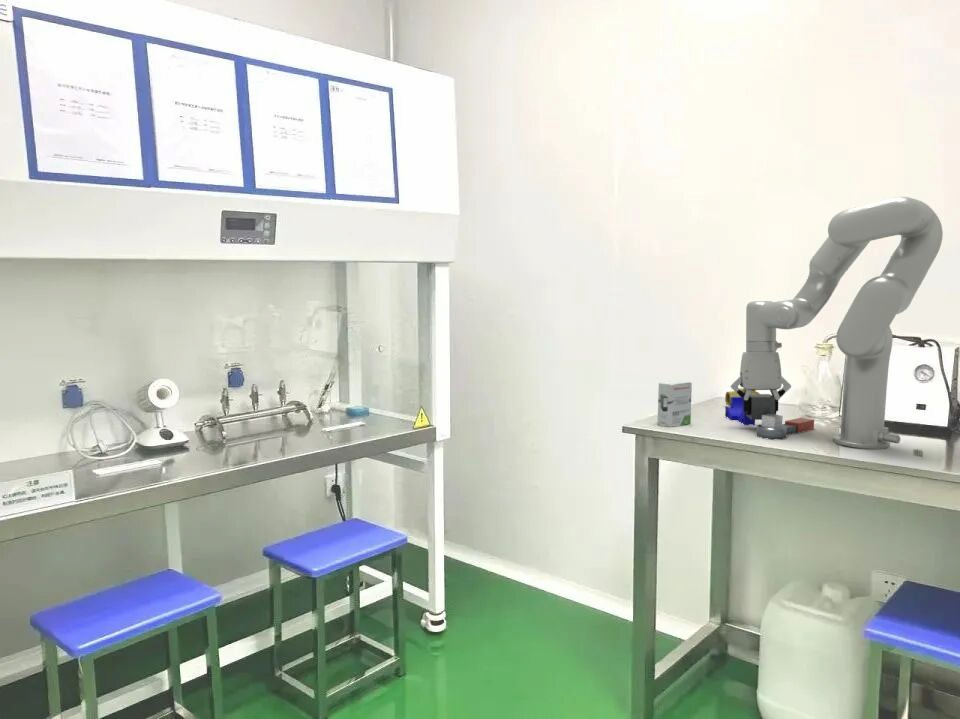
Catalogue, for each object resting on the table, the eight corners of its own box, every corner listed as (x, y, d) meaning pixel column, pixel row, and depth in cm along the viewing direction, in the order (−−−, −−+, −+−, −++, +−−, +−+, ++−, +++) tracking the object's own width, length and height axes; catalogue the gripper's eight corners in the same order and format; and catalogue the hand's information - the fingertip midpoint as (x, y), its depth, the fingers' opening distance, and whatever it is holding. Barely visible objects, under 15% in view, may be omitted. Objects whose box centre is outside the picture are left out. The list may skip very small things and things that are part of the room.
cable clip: (725, 417, 224) (726, 396, 223) (740, 417, 224) (741, 396, 223) (738, 425, 212) (739, 404, 212) (754, 425, 212) (756, 404, 211)
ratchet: (776, 440, 193) (777, 419, 192) (750, 435, 198) (751, 414, 198) (819, 430, 206) (821, 410, 205) (794, 425, 211) (795, 406, 211)
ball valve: (767, 411, 233) (769, 378, 232) (733, 411, 233) (735, 378, 232) (751, 404, 246) (753, 373, 245) (719, 404, 245) (721, 373, 244)
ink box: (677, 421, 217) (679, 379, 216) (691, 424, 213) (693, 381, 212) (656, 424, 212) (657, 382, 211) (670, 427, 208) (671, 384, 207)
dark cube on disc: (769, 415, 209) (769, 394, 208) (775, 419, 203) (775, 397, 202) (746, 416, 209) (746, 394, 209) (751, 419, 204) (751, 397, 203)
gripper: (790, 345, 207) (790, 411, 209) (724, 347, 209) (724, 412, 211) (798, 348, 200) (798, 416, 201) (730, 349, 202) (730, 416, 203)
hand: (760, 413), depth 206 cm, fingers closed on dark cube on disc, 6 cm apart
